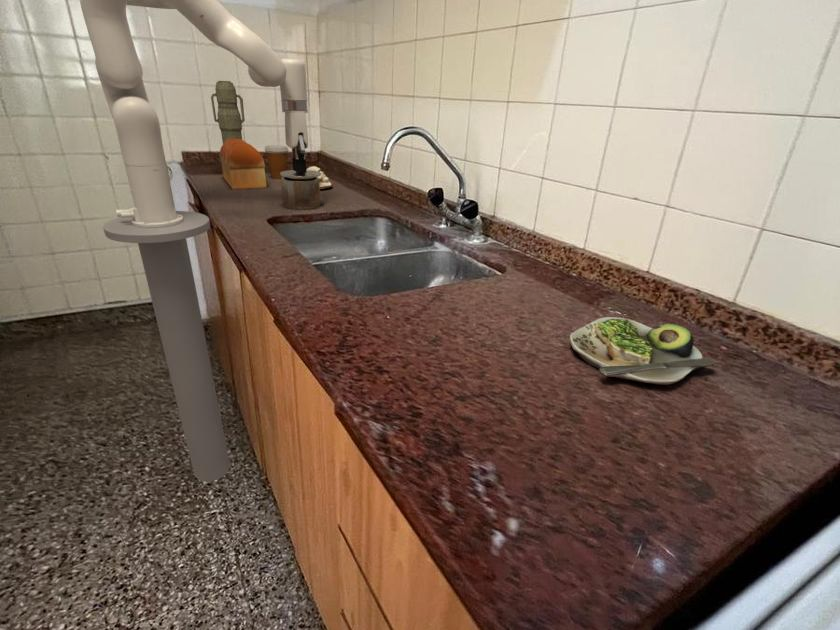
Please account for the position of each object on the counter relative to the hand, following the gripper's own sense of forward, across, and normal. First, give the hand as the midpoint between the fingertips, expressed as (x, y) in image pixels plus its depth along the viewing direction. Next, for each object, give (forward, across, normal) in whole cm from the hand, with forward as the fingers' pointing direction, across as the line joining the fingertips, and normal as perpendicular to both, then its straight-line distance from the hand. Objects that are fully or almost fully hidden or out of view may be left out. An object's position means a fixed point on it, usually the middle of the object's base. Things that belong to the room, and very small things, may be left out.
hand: (299, 171), depth 140 cm
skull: (+11, -27, +12) cm, 31 cm away
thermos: (+11, -67, -12) cm, 69 cm away
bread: (+11, -44, -12) cm, 47 cm away
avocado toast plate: (+11, +110, +24) cm, 113 cm away
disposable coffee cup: (+11, -53, +3) cm, 54 cm away
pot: (+11, 0, 0) cm, 11 cm away
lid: (+1, 0, 0) cm, 1 cm away
